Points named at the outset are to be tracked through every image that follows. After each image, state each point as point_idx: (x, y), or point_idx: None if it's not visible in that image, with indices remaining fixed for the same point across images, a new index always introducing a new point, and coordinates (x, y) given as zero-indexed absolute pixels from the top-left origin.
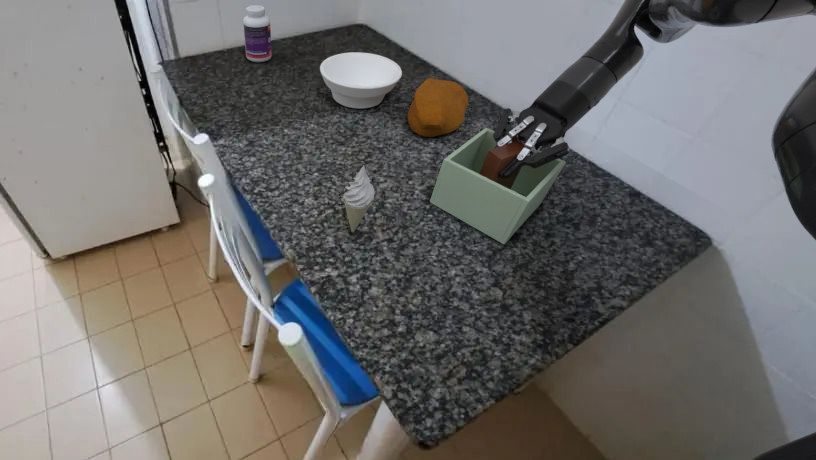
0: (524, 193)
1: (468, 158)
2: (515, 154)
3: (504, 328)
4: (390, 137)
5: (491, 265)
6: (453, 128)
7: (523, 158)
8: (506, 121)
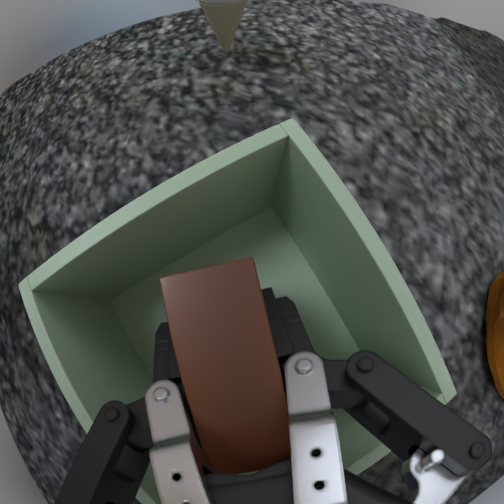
0: None
1: (365, 314)
2: (182, 379)
3: (4, 197)
4: (488, 223)
5: (72, 238)
6: (493, 361)
7: (147, 398)
8: (420, 434)
